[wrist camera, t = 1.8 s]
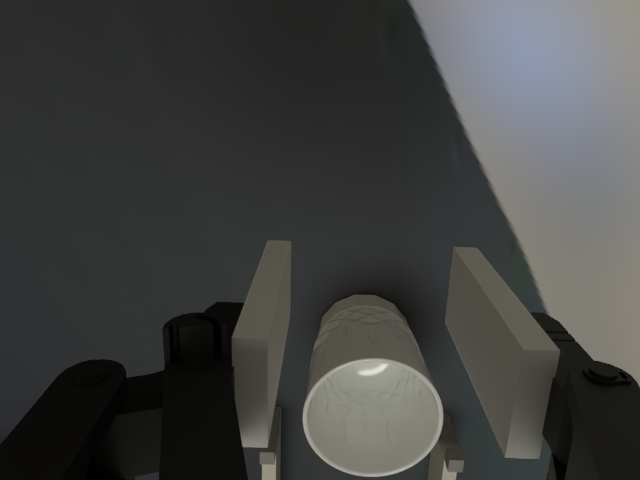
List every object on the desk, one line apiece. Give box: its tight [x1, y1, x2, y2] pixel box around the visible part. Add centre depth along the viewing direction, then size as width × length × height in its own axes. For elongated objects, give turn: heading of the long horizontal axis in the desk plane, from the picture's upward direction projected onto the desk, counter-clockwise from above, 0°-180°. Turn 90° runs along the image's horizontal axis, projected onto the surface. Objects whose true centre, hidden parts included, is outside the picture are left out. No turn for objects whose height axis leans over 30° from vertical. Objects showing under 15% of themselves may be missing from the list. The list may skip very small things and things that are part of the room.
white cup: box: [303, 294, 443, 477], centre depth 34 cm, size 8×8×10 cm
